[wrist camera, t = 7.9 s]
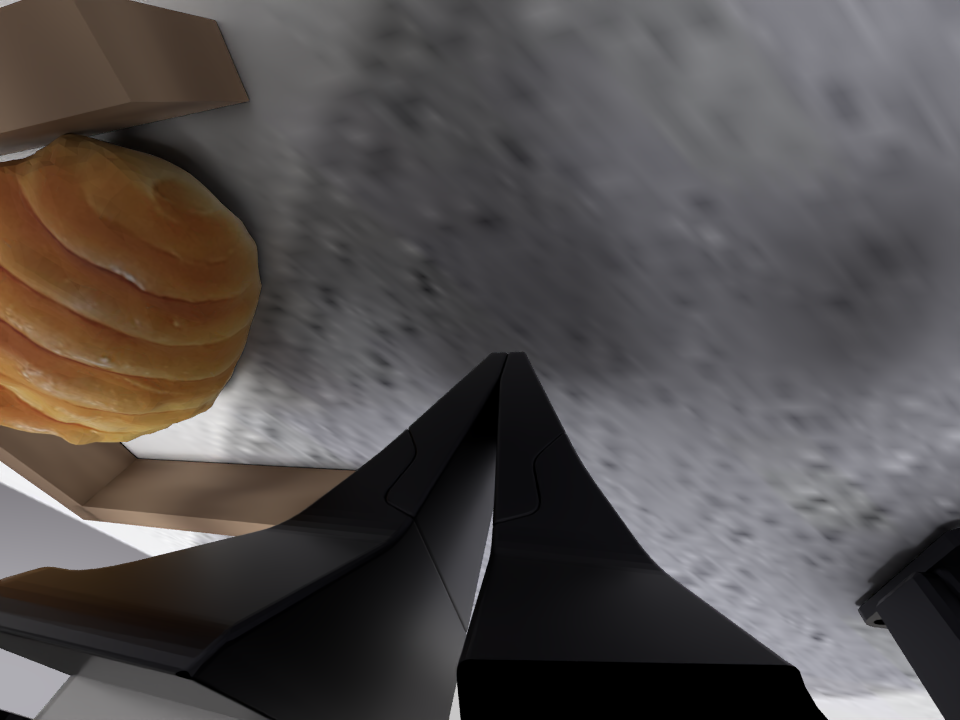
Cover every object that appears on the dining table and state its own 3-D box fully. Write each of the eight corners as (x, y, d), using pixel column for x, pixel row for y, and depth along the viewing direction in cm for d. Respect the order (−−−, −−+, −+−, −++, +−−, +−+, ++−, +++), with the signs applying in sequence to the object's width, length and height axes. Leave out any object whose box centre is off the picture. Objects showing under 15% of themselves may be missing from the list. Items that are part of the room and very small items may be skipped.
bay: (215, 20, 6) (64, -15, 4) (413, 491, 15) (391, 553, 13) (-228, 147, 10) (-427, 159, 8) (135, 473, 18) (83, 519, 16)
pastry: (73, 29, 7) (-279, -21, 4) (338, 281, 10) (240, 366, 7) (19, 285, 12) (-167, 351, 9) (208, 410, 14) (115, 495, 11)
